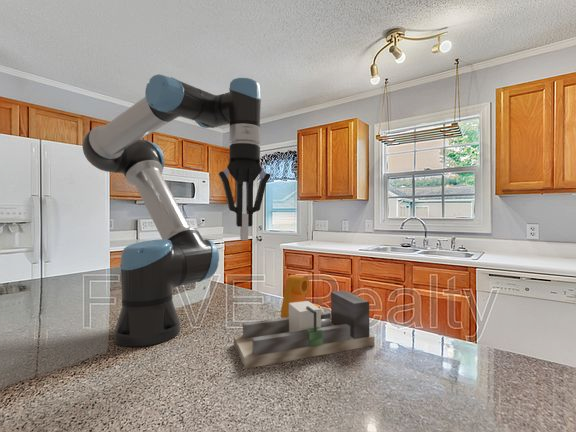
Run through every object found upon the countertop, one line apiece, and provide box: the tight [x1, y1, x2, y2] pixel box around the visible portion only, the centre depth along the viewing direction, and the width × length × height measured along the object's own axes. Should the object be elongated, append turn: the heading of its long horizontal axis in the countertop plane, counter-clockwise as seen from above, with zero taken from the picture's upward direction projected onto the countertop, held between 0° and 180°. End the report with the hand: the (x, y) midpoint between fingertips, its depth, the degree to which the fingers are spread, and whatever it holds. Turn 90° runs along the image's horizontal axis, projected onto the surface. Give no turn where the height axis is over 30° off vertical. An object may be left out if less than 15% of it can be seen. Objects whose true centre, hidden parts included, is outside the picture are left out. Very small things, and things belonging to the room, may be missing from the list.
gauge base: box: [233, 290, 376, 370], centre depth 73 cm, size 30×12×10 cm, turn 110°
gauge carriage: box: [289, 300, 331, 332], centre depth 73 cm, size 9×10×7 cm
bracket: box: [280, 274, 321, 318], centre depth 92 cm, size 11×7×12 cm, turn 147°
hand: (244, 239), depth 79 cm, fingers closed
